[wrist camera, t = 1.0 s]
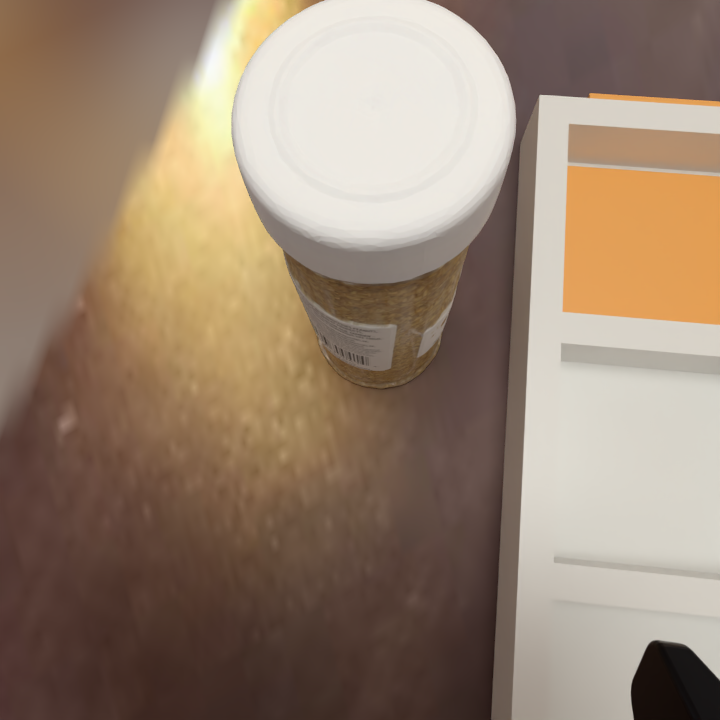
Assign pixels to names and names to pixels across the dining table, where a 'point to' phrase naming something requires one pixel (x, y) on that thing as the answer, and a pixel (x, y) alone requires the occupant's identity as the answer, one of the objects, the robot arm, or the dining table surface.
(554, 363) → the condiment rack
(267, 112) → the sprinkles bottle
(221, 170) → the dining table surface
